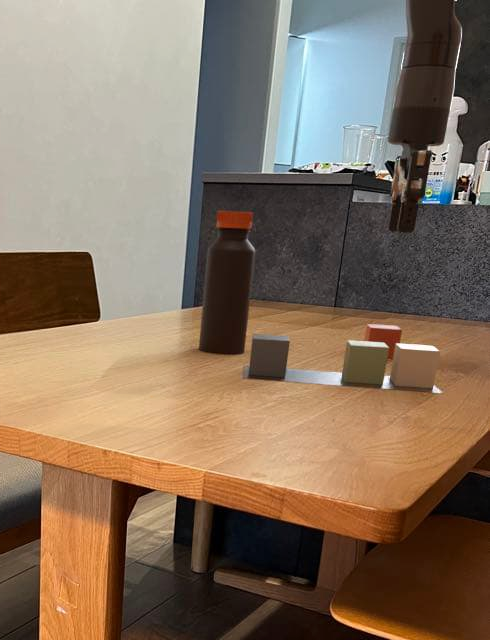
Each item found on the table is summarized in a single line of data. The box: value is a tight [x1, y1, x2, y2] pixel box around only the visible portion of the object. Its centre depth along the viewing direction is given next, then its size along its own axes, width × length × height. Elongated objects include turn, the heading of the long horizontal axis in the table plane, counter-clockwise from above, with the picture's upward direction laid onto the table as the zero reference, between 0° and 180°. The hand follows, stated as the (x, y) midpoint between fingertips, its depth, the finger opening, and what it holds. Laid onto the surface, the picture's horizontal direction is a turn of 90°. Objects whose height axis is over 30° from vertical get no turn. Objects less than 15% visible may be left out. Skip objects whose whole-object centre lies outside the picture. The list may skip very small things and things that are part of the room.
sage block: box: [342, 339, 389, 385], centre depth 109 cm, size 5×5×5 cm
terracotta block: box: [363, 323, 403, 359], centre depth 132 cm, size 5×5×5 cm
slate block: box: [248, 333, 291, 378], centre depth 110 cm, size 5×5×5 cm
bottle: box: [198, 210, 256, 356], centre depth 125 cm, size 7×7×20 cm
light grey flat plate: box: [242, 365, 444, 395], centre depth 110 cm, size 24×10×1 cm, turn 79°
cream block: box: [389, 343, 441, 389], centre depth 108 cm, size 5×5×5 cm
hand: (400, 231), depth 124 cm, fingers open, 8 cm apart
